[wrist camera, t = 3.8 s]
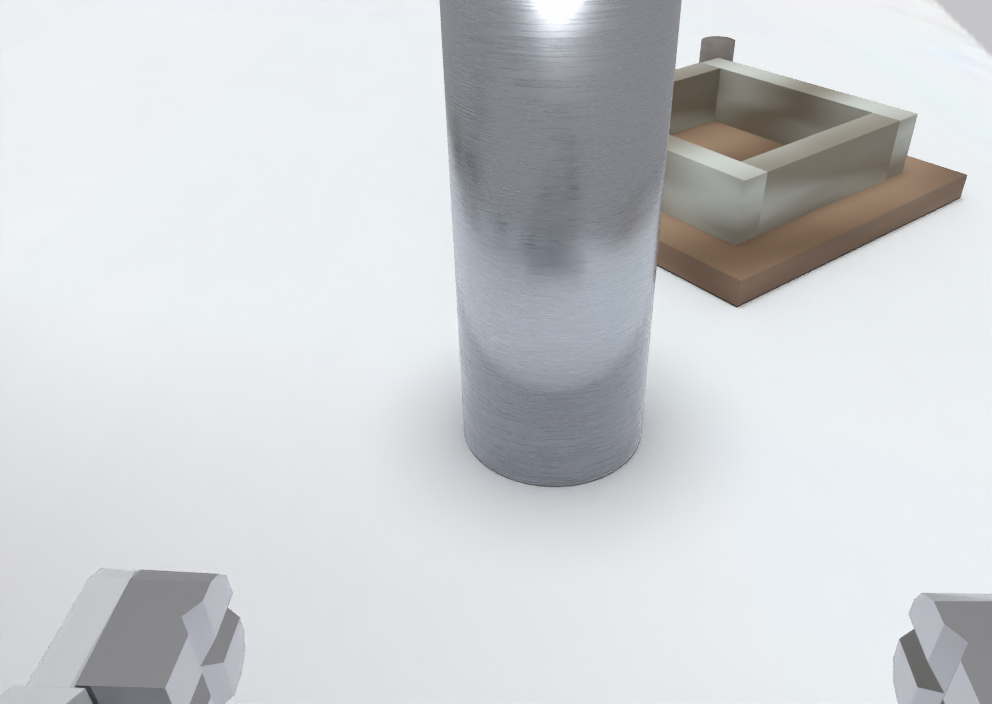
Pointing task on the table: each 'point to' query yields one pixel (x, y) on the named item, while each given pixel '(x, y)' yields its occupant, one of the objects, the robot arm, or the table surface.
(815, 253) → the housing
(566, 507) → the table surface
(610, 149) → the pin
